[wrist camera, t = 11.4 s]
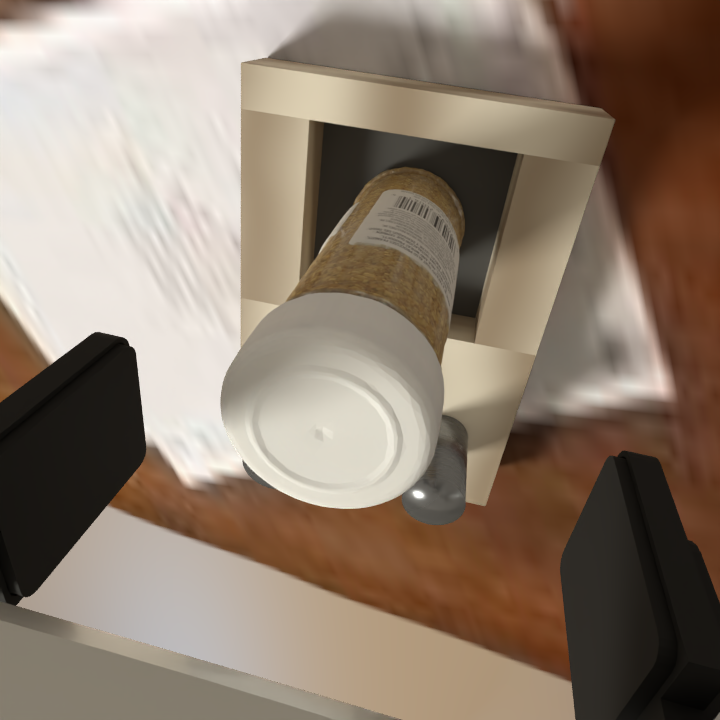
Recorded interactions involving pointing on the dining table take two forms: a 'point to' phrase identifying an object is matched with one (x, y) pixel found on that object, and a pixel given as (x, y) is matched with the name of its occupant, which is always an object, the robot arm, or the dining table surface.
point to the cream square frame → (479, 244)
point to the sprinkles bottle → (355, 352)
